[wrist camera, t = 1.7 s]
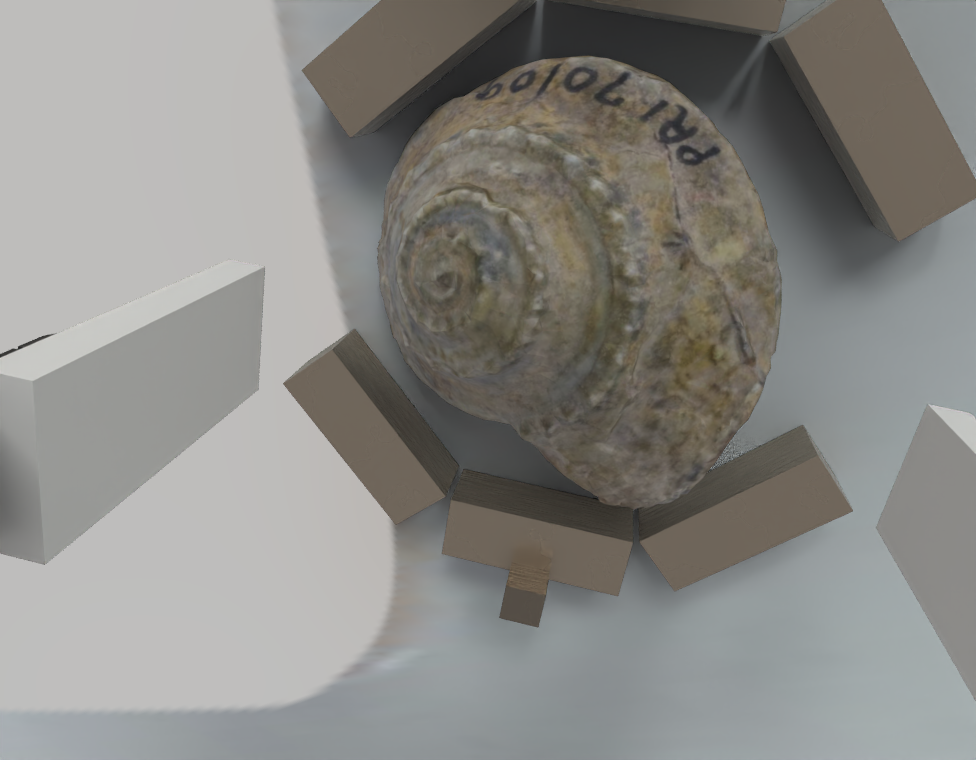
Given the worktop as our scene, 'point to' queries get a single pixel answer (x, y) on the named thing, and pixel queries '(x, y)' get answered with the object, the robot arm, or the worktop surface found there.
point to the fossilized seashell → (585, 273)
